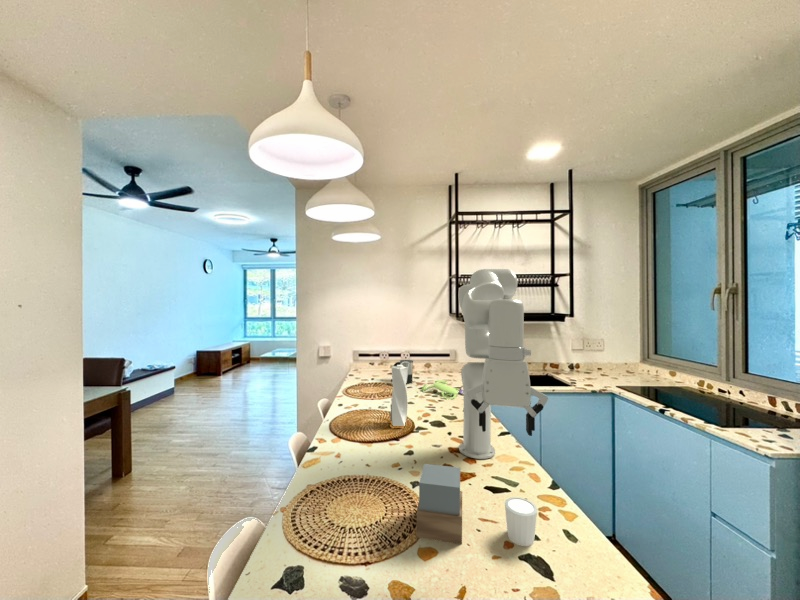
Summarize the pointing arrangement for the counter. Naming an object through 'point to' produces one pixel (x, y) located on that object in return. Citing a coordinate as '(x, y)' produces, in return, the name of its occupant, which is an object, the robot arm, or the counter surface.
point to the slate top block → (440, 489)
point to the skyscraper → (399, 395)
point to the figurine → (444, 389)
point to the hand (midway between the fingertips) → (506, 431)
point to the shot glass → (521, 520)
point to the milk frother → (410, 369)
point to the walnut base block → (440, 525)
